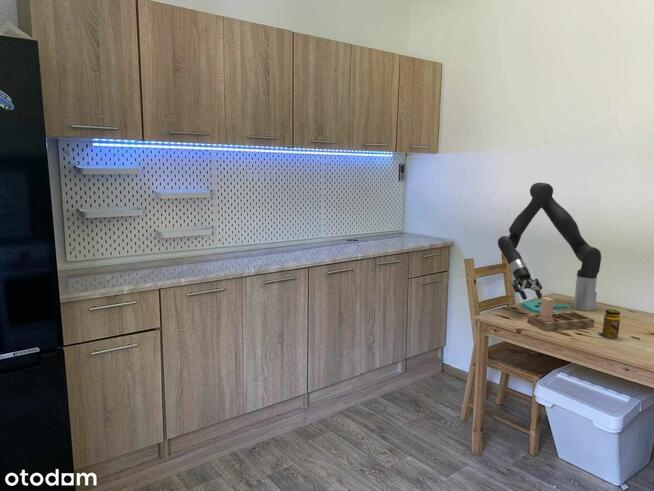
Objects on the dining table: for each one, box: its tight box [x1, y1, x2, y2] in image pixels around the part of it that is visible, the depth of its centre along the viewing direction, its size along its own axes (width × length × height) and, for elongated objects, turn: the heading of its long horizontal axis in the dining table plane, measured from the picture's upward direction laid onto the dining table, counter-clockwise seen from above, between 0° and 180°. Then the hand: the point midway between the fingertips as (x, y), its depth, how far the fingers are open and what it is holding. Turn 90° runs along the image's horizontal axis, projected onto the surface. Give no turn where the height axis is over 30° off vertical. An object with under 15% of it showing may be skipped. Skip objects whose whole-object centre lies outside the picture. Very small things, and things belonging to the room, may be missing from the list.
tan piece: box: [537, 296, 555, 322], centre depth 223 cm, size 6×4×12 cm
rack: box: [527, 311, 595, 332], centre depth 226 cm, size 26×13×4 cm, turn 105°
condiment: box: [596, 308, 621, 341], centre depth 210 cm, size 7×8×12 cm
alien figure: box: [521, 300, 570, 314], centre depth 251 cm, size 20×2×20 cm
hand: (533, 298), depth 232 cm, fingers open, 8 cm apart
